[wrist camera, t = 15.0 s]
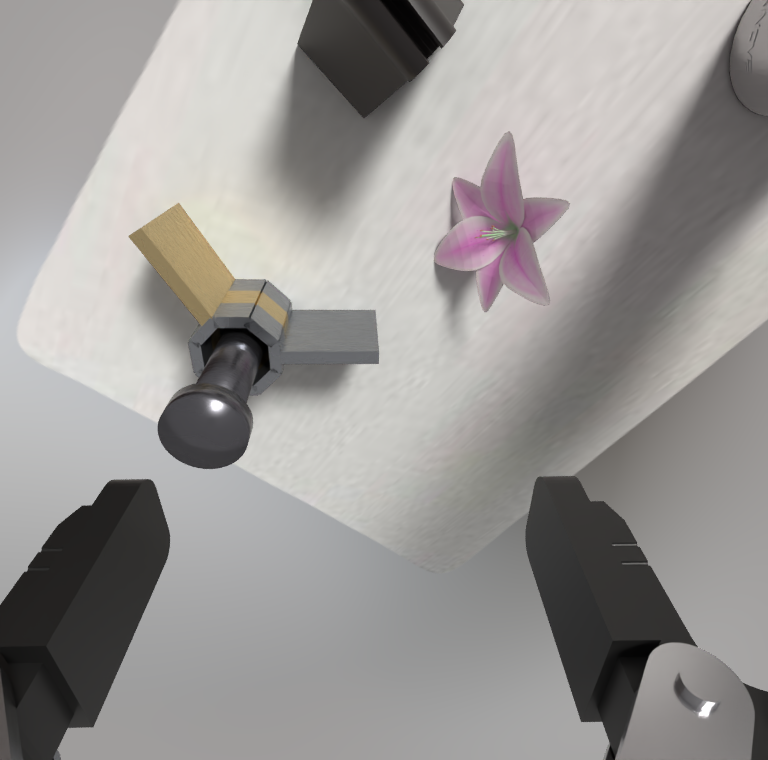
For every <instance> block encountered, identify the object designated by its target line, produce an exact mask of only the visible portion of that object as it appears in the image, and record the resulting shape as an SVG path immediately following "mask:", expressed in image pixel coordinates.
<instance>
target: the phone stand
mask: <svg viewBox="0 0 768 760" xmlns="http://www.w3.org/2000/svg"><path fill="white" fill-rule="evenodd" d="M463 6H464V4H463V3H462V1H461V0H313V1H312V4H311V7H310V10H309V13H308V15H307V18H306V21H305V24H304V26H303V29H302V32H301V35H300V38H299V40H298V43H297V44H298V45H299V46H300V47H301V49H302V50H303V51H304V52H305V53H306V54H307V55H308V56H309V57H310V59H311V60H312V61H313V62H314V63H315V64H316V65H317V66H318V68H319V69H320V70H321V71H322V72H323V73H324V74H325V75H326V76H327V78H328V79H329V80H330V81H331V82H332V83H333V84H334V85H335V86H336V88H337V89H338V90H339V91H340V92H341V93H342V94H343V95H344V97H345V98H346V99H347V100H348V101H349V102H350V103H351V104H352V105H353V107H354V108H355V109H356V110H357V111H358V112H359V113H360V114H361V116H362V117H363V118H365V117H366V116H367V115H369V114H370V113H371V112H372V111H373V110H374V109H376V108H377V107H378V106H379V105H380V104H381V103H383V102H384V101H385V100H386V99H387V98H388V97H390V96H391V95H392V94H393V93H394V92H395V91H396V90H398V89H399V88H400V87H401V86H402V85H403V84H405V83H406V82H407V81H409V82H410V81H412V80H413V79H414V78H415V77H416V76H417V75H418V74H419V73H420V72H421V71H422V70H423V69H424V68H425V67H426V66H427V65H428V64H429V61H428V60H427V59H428V58H429V57H430V56H431V55H432V54H433V52H434V51H435V50H436V49H437V48H438V47H439V46H440V47H441V48H443V47H444V46H445V44H446V43H447V42H448V41H449V40H450V38H451V37H452V36H453V34H454V33H455V32H456V29H455V28H454V27H453V25H454V24H455V22H456V20H457V18H458V16H459V14H460V12H461V10H462V8H463Z"/></svg>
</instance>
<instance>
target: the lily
mask: <svg viewBox="0 0 768 760" xmlns="http://www.w3.org/2000/svg"><path fill="white" fill-rule="evenodd" d="M452 185H453V191H454V195H455V199H456V202H457V205H458V208H459V211H460V213H461V215H462V217H463V219H464V220H462V221H460V222H459V223H458V224H456V225H455V226H454V227H453V228H452V229H451V230H450V231H449V233H448V234H447V235H446V236H445V238H444V239H443V240H442V242H441V243H440V245H439V246H438V248H437V249H436V252H435V254H434V261H435V263H436V264H438V265H440V266H443V267H446V268H450V269H455V270H462V271H474V270H476V281H477V288H478V294H479V299H480V303H481V306H482V309H483V310H484V312H487V311H488V310H489V309H490V307H491V306H492V304H493V302H494V301H495V299H496V297H497V295H498V294H499V292H500V290H501V288H502V286H503V284H505V285H506V287H508V288H509V289H510V290H512V291H513V292H515V293H517V294H518V295H520V296H522V297H524V298H526V299H528V300H530V301H532V302H534V303H537V304H540V305H544V306H545V305H549V301H550V297H549V293H548V289H547V286H546V283H545V280H544V277H543V274H542V271H541V268H540V265H539V262H538V259H537V255H536V251H535V248H534V245H533V243H534V242H535V241H537V240H538V239H539V238H540V237H541V236H542V235H544V234H545V233H546V232H547V231H548V230H549V229H550V228H551V227H552V226H553V225H554V224H555V223H556V222H557V221H558V220H559V219H560V218H561V217H562V216H563V214H564V213H565V212H566V211H567V210H568V208H569V205H570V203H569V202H568V201H566V200H561V199H554V198H525V199H523V197H522V191H521V186H520V180H519V175H518V167H517V159H516V152H515V144H514V140H513V136H512V134H511V133H510V131H508V132H507V133H505V134H504V136H503V137H502V138H501V140H500V141H499V143H498V145H497V146H496V148H495V150H494V152H493V154H492V156H491V158H490V160H489V162H488V164H487V167H486V169H485V172H484V175H483V177H482V181H481V187H479V186H477V185H475V184H473V183H471V182H469V181H466V180H463V179H461V178H457V177H454V178H453V182H452Z"/></svg>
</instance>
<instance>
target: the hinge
mask: <svg viewBox="0 0 768 760" xmlns="http://www.w3.org/2000/svg"><path fill="white" fill-rule="evenodd" d="M129 238H130V239H131V240H132V241H133V243H134V244H135V245H136V246H137V247H138V249H139V250H140V251H141V252H142V254H143V255H144V256H145V257H146V258H147V260H148V261H149V262H150V263H151V265H152V266H153V267H154V268H155V269H156V271H157V272H158V273H159V274H160V276H161V277H162V278H163V279H164V281H165V282H166V283H167V284H168V285H169V287H170V288H171V289H172V290H173V292H174V293H175V294H176V295H177V296H178V298H179V299H180V300H181V301H182V303H183V304H184V305H185V306H186V307H187V309H188V310H189V311H190V312H191V314H192V315H193V316H194V317H195V318H196V320H197V321H198V322H199V323H200V324H199V326H198V327H197V329H196V330H195V332H194V333H193V335H192V336H191V338H190V339H189V342H188V345H189V350H190V355H191V360H192V365H193V370H194V373H196V374H195V375H196V376H198V377H200V375H201V373H202V371H203V370H204V368H205V366H206V364H207V362H208V360H209V358H210V356H211V354H212V353H213V351H214V349H215V347H216V345H217V343H218V341H219V339H220V338H221V336H222V334H223V332H224V330H225V328H247V329H248V330H249V331H251V332H252V333H253V334H254V335H255V336H257V337H258V338H259V339H260V340H262V341H263V342H264V343H265V344H266V347H265V350H264V353H263V356H262V359H261V362H260V365H259V368H258V370H257V373H256V376H255V379H254V382H253V385H252V388H251V391H250V394H249V395H258V394H261V393H262V392H263V391H264V390H265V389H267V388H268V387H269V386H270V385H271V384H272V383H273V382H274V381H275V380H276V379H277V378H278V377H279V376H280V375H281V374H282V372H283V368H284V364H379V346H378V335H377V323H376V312H375V310H292V303H291V302H290V301H291V300H290V299H288V298H287V297H286V296H285V295H284V294H283V293H282V292H280V291H279V290H278V289H277V288H276V287H275V286H274V285H272V284H271V283H270V282H269V281H267V282H266V280H243V279H234V277H233V276H232V274H231V273H230V272H229V270H228V269H227V268H226V266H225V265H224V264H223V262H222V261H221V260H220V258H219V257H218V256H217V254H216V253H215V251H214V250H213V249H212V247H211V246H210V245H209V243H208V242H207V241H206V239H205V238H204V237H203V235H202V234H201V232H200V231H199V230H198V228H197V227H196V226H195V224H194V223H193V222H192V220H191V219H190V218H189V216H188V215H187V213H186V212H185V211H184V209H183V208H182V207H181V205H180V204H179V203H178V204H176V205H175V206H173V207H172V208H170V209H169V210H167V211H166V212H164V213H163V214H161V215H160V216H158V217H157V218H155V219H154V220H152V221H150V222H149V223H147V224H146V225H144V226H143V227H141V228H140V229H138V230H137V231H135V232H134V233H132V234H131V235H129Z"/></svg>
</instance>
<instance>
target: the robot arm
mask: <svg viewBox="0 0 768 760" xmlns="http://www.w3.org/2000/svg"><path fill="white" fill-rule="evenodd" d="M730 75H731V82H732V86H733V88H734V91H735V93H736V95H737V97H738V99H739V100H740V101H741V102H742V103H743V105H744V106H745V107H747V108H748V109H750V110H751V111H753V112H754V113H757V114H760V115H764V116H768V0H752V1H751V3H750V5H749V6H748V8H747V10H746V12H745V13H744V15H743V17H742V19H741V21H740V24H739V26H738V29H737V31H736V34H735V36H734V40H733V45H732V49H731V54H730ZM169 547H170V533H169V529H168V525H167V522H166V519H165V515H164V512H163V509H162V506H161V503H160V499H159V496H158V493H157V490H156V487H155V484H154V483H153V481H151V480H149V479H136V480H135V479H132V480H111V481H109V482H108V483H107V484H106V485H105V487H104V488H103V490H102V491H101V493H100V494H99V495H98V497H97V499H96V500H95V501H94V503H93V504H92V506H81V507H80V508H79V509H78V510H76V511H75V512H74V513H72V514H71V515H70V516H69V517H68V518H66V519H65V520H64V521H63V522H61V523H60V524H59V525H58V526H57V527H56V529H55V530H54V531H53V533H52V534H51V535H50V537H49V538H48V540H47V541H46V543H45V544H44V545H43V547H42V551H41V552H39V553H38V554H37V555H36V556H35V558H34V559H33V561H32V562H31V563H30V565H29V566H28V571H27V572H24V573H23V574H22V576H21V577H20V578H19V580H18V581H17V583H16V584H15V586H14V587H13V588H12V590H11V591H10V592H9V594H8V595H7V596H6V598H5V599H4V601H3V602H2V603H1V605H0V760H61V757H60V754H59V751H58V750H57V749H58V747H59V745H60V743H61V740H62V738H63V736H64V734H65V732H66V730H67V728H76V727H93V726H94V724H95V722H96V720H97V717H98V715H99V713H100V711H101V708H102V706H103V704H104V701H105V699H106V697H107V695H108V692H109V690H110V688H111V685H112V683H113V681H114V679H115V676H116V674H117V672H118V670H119V667H120V665H121V663H122V661H123V658H124V656H125V654H126V652H127V649H128V647H129V644H130V642H131V640H132V638H133V636H134V633H135V631H136V629H137V626H138V624H139V622H140V620H141V617H142V615H143V613H144V610H145V608H146V606H147V604H148V602H149V599H150V597H151V595H152V592H153V590H154V588H155V585H156V583H157V581H158V579H159V577H160V574H161V572H162V570H163V567H164V565H165V563H166V560H167V557H168V553H169ZM526 547H527V548H526V549H527V554H528V558H529V561H530V564H531V567H532V571H533V574H534V577H535V580H536V583H537V586H538V589H539V592H540V596H541V598H542V602H543V604H544V608H545V611H546V614H547V617H548V620H549V623H550V626H551V630H552V633H553V636H554V639H555V642H556V645H557V648H558V651H559V654H560V658H561V661H562V664H563V667H564V670H565V673H566V676H567V679H568V682H569V685H570V688H571V692H572V695H573V698H574V701H575V704H576V707H577V710H578V713H579V716H580V719H581V722H603V725H604V728H605V731H606V733H607V736H608V739H609V745H608V747H607V749H606V753H605V756H604V759H603V760H768V692H767V691H763V690H760V689H757V688H754V687H751V686H749V685H746V684H744V683H742V681H741V680H740V679H739V678H738V676H737V675H736V674H735V673H734V672H733V671H732V670H731V669H730V668H729V667H728V666H727V665H726V664H725V663H723V662H722V661H721V660H719V659H718V658H716V657H715V656H714V655H712V654H710V653H709V652H707V651H705V650H703V649H701V648H698V647H697V645H696V644H695V642H694V641H693V639H692V638H691V636H690V634H689V632H688V631H687V629H686V627H685V625H684V624H683V622H682V620H681V618H680V617H679V615H678V613H677V611H676V610H675V608H674V606H673V605H672V603H671V601H670V599H669V597H668V596H667V594H666V592H665V590H664V589H663V587H662V585H661V584H660V582H659V580H658V578H657V577H656V575H655V573H654V571H653V570H652V568H651V567H650V566H648V561H647V559H646V557H645V555H644V554H643V552H642V550H641V548H640V547H638V546H637V542H636V540H635V538H634V536H633V534H632V533H631V531H630V529H629V527H628V526H627V524H626V522H625V520H624V519H622V518H621V517H620V516H619V515H618V514H617V513H616V512H615V511H614V510H612V509H611V508H610V507H609V506H608V505H607V504H606V503H605V502H604V501H598V502H596V501H594V502H590V500H589V499H588V497H587V495H586V493H585V491H584V489H583V487H582V485H581V483H580V481H579V480H578V478H576V477H575V476H549V477H538V478H537V479H536V482H535V486H534V491H533V496H532V501H531V506H530V511H529V516H528V521H527V525H526Z"/></svg>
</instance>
